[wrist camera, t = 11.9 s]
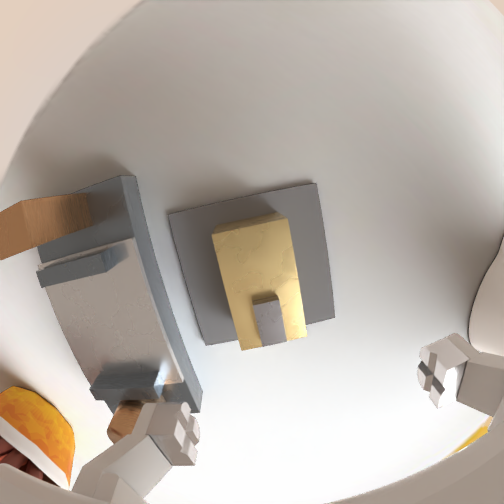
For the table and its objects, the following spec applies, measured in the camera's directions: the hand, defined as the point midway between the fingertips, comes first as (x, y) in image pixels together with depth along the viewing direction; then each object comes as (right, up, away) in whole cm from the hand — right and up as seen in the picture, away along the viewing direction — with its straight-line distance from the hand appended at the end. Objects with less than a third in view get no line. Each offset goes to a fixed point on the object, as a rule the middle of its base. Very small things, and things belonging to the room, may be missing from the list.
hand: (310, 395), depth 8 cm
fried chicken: (-31, -18, +17) cm, 39 cm away
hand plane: (-13, 0, +14) cm, 19 cm away
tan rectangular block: (-1, +3, +13) cm, 13 cm away
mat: (-1, +3, +14) cm, 14 cm away
